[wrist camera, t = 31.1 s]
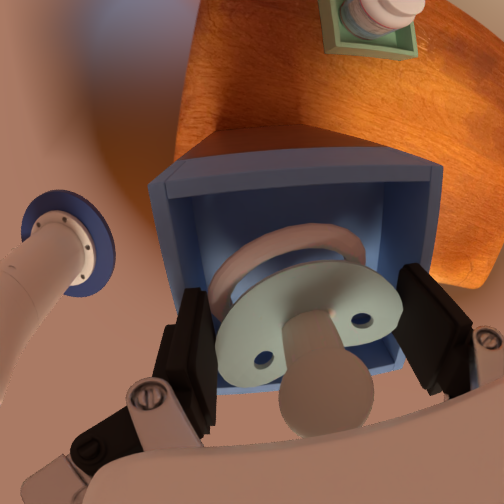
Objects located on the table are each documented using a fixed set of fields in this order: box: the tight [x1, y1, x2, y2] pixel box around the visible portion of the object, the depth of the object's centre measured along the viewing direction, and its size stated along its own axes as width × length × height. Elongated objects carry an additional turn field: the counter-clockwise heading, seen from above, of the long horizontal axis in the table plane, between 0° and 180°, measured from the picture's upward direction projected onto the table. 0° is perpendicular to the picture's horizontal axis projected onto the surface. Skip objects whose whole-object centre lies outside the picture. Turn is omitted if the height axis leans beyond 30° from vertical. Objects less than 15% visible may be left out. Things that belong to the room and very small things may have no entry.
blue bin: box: [148, 124, 443, 395], centre depth 23 cm, size 10×10×27 cm
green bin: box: [318, 0, 418, 61], centre depth 25 cm, size 10×10×5 cm
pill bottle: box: [339, 0, 425, 40], centre depth 21 cm, size 6×6×11 cm
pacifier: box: [208, 223, 403, 438], centre depth 9 cm, size 7×6×6 cm
